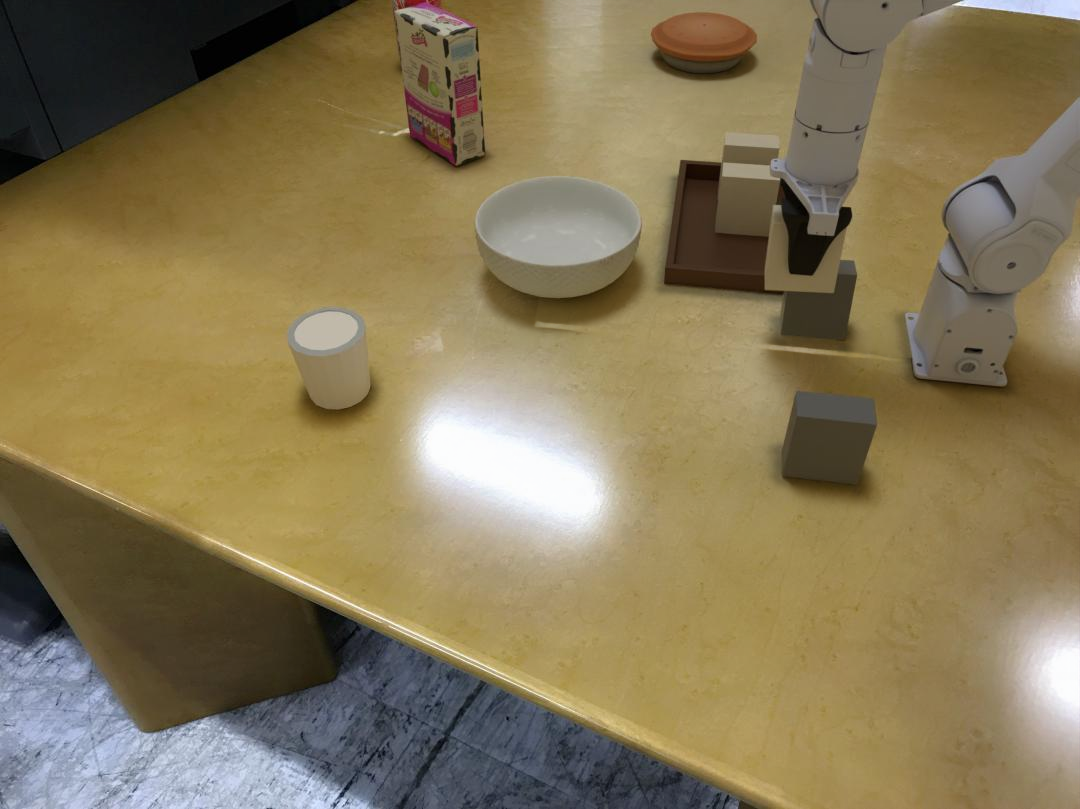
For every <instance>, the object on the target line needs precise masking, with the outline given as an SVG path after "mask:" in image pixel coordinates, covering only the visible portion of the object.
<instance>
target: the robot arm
mask: <svg viewBox="0 0 1080 809" xmlns="http://www.w3.org/2000/svg"><path fill="white" fill-rule="evenodd" d="M964 1H965V0H809V3H810V6H811V8H812V10H813V12H814V13H815V15H816V18H814V19H813V21H812V26H811V31H810V35H809V39H808V40H809V41H808V47H807V51H806V53H805V55H804V60H803V65H802V71H801V75H800V76H801V77H800V82H799V87H798V93H797V97H796V102H795V108H794V114H793V119H792V124H791V130H790V137H789V142H788V146H787V152H786V157H784V158H778V159H772V160H771V162H770V175H771V176H772V177H776V178H780V182H781V185H782V188H783V191H784V194H785V198H782V200H781V210H782V216H783V219H784V222H785V225H786V227H787V231H788V237H789V238H788V268H789V273H790V274H795V275H807V276H812V275H813V274H814V273H815V271H816V270H817V268H818V266H819V264H820V262H821V261H822V259H823V257H824V255H825V253H826V251H827V249H828V248H829V246H830V244H831V243H832V242H833V240H834V239H835V238H836V237H837V236H838V235H839V233H841V232H842V231H843V230H844V229H845V228H846V227H847V228H848V227H849V226H850V223H851V222H852V221H853V209H852V206H844V204H845V202H846V200H847V199H848V198H849V195H850V194H851V192H852V190H853V189H854V187H855V186H856V184H857V182H858V178H859V175H860V170H859V164H860V159H861V156H862V152H863V148H864V143H865V140H866V136H867V132H868V128H869V124H870V119H871V116H872V111H873V107H874V105H875V100H876V96H877V91H878V88H879V83H880V80H881V75H882V71H883V67H884V59H885V55H886V50H887V47H888V45H890V44H891V43H892V42H893V41H894V40H895V39H896V38H897V37H898V36H899V35H900V34H901V33H902V31H903V30H904V28H905V27H906V26H907V25H908V24H909V23H910V22H913V21H914V20H917V19H919V18H922V17H924V16H927V15H930V14H932V13H934V12H937V11H940V10H943V9H945V8H948V7H950V6H953V5H955V4H958V3H961V2H964ZM1079 197H1080V96H1079V97H1078V98H1077V99H1076V100H1075V101H1074V102H1073V103H1072V104H1071V105H1070V106H1069V107H1068V108H1067V109H1066V110H1065V111H1064V112H1063V113H1062V114H1061V115H1060V116H1059V117H1058V118H1057V119H1056V120H1055V121H1054V123H1052V125H1050V126H1049V128H1048V129H1046V131H1044V133H1043V134H1042V135H1041V136H1040V137H1039V138H1038V139H1037V140H1036V141H1035V142H1034V143H1032V145H1031V146H1030V147H1029V148H1028V149H1027V150H1026V151H1025V152H1024V153H1023V154H1019V155H1018V154H1017V155H1013V156H1005V157H1001V158H998V159H995V160H994V161H993V162H992V163H991V164H990V165H989V166H988V167H987V168H986V169H985V170H984V171H982V172H981V173H980V174H979V175H976V176H975V177H973V178H971V179H969V180H967V181H965V182H963V183H961V184H960V185H959V186H957V187H956V188H955V189H954V190H953V191H952V192H951V193H950V194H949V195H948V196H947V198H946V199H945V202H943V203H944V204H943V206H942V209H941V221H942V222H941V223H942V224H943V227H944V228H945V229H946V231H947V232H948V234H947V236H946V239H945V242H944V246H943V248H942V249H941V250H940V253H939V256H938V259H937V262H936V265H935V268H934V271H933V274H932V276H931V280H930V283H929V286H928V288H927V291H926V294H925V297H924V299H923V303H922V306H921V309H920V312H906V313H905V314H904V318H905V323H906V330H907V335H908V341H909V346H910V352H911V356H912V357H910V360H911V365H912V369H913V371H912V372H913V375H914V376H915V377H916V378H917V379H921V380H931V381H942V382H953V383H962V384H973V385H983V386H990V387H991V386H993V387H1000V388H1001V387H1002V388H1003V387H1006V386H1007V384H1008V379H1007V375H1006V372H1005V368H1004V365H1005V362H1006V361H1007V358H1008V356H1009V354H1010V352H1011V349H1012V348H1013V345H1014V343H1015V341H1016V338H1017V335H1018V331H1019V330H1018V329H1019V328H1018V321H1017V316H1016V302H1017V298H1018V295H1019V294H1020V293H1021V292H1022V290H1023V289H1024V288H1026V287H1028V286H1030V285H1031V284H1033V283H1035V282H1036V281H1037V280H1038V279H1039V278H1040V277H1041V276H1042V275H1043V274H1044V273H1045V271H1046V270H1047V269H1048V267H1049V265H1050V263H1051V260H1052V258H1053V256H1054V254H1055V253H1056V252H1057V250H1058V249H1059V248H1060V247H1061V246H1062V245H1063V244H1064V243H1065V242H1066V241H1067V240H1068V239H1069V238H1070V237H1071V235H1072V231H1073V225H1074V219H1075V212H1076V206H1077V201H1078V198H1079ZM909 318H911V319H909Z"/></svg>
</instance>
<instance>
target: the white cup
mask: <svg viewBox="0 0 1080 809" xmlns="http://www.w3.org/2000/svg"><path fill="white" fill-rule="evenodd" d="M286 339H287V345H288V347H289V349H290V352H291V354H292V356H293V359H294V361H295V364H296V366H297V368H298V369H297V370H298V371H299V373H300V376H301V378H302V381H303V384H304V387H305V388H306V391H307V393H308V395H309V399H310V400H311V401H312V402H313V403H314V404H315V405H316V406H318V407H320V408H323V409H325V410H343V409H347V408H351V407H353V406H355V405H357V404H359V403H360V402H362V401H363V400H364V399H366V397H367V396H368V395H369V392H370V389H371V386H372V385H371V374H370V372H371V371H370V362H369V361H370V360H369V349H368V336H367V327H366V322H365V319H364V317H362V316H361V315H360V314H359V313H358V312H357V311H355V310H352V309H350V308H346V307H340V306H339V307H338V306H327V307H322V308H317V309H313V310H311V311H308V312H306V313H304V314H302V315H300V316H299V317H298V318H297V319H295V320H294V321H293V322H292V323H290V326H289V328H288V330H287V331H286Z"/></svg>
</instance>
